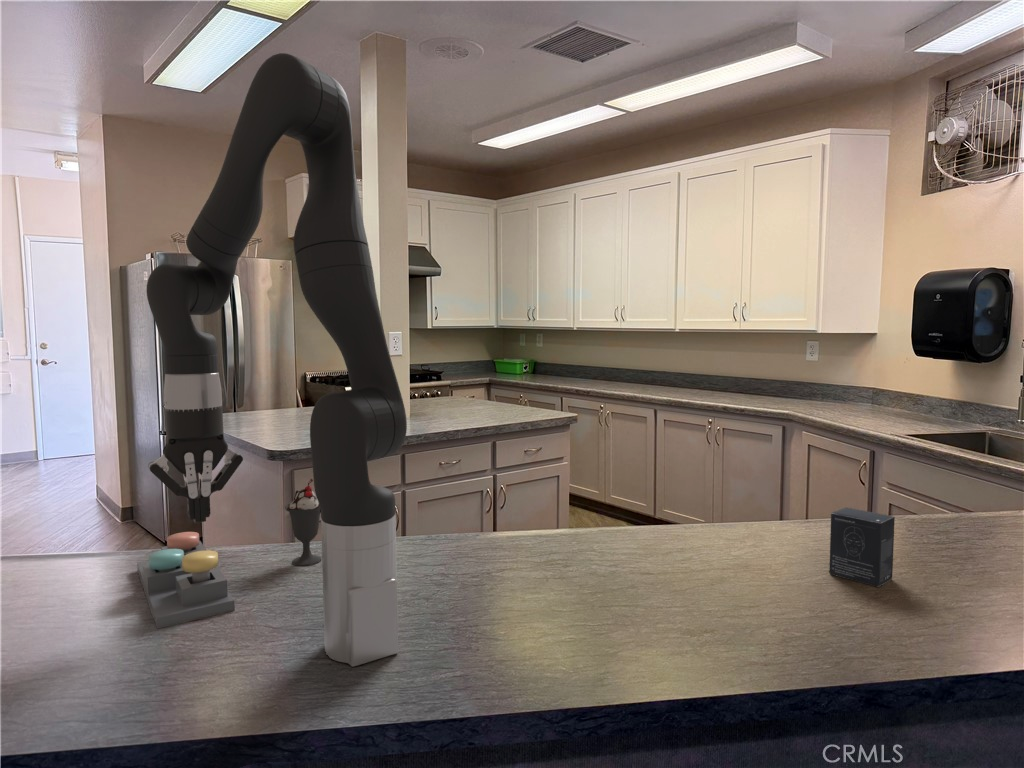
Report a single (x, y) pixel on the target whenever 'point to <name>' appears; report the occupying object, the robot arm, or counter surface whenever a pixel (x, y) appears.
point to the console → (184, 593)
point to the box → (862, 546)
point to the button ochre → (200, 564)
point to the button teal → (166, 559)
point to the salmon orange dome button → (183, 541)
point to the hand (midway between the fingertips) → (199, 521)
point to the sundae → (305, 523)
